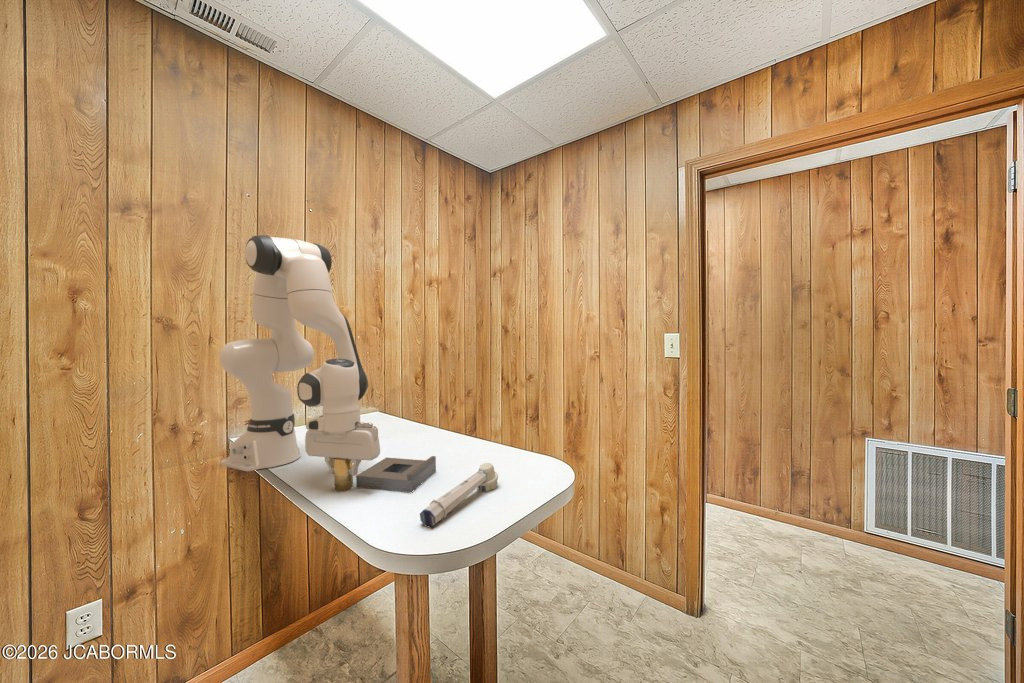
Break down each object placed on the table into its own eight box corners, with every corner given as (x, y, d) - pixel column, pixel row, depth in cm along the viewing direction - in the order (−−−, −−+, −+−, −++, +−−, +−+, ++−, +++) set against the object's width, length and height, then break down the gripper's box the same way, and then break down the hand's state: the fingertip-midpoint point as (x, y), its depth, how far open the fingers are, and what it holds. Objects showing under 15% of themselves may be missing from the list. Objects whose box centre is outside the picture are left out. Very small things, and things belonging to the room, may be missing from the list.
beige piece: (416, 506, 77) (484, 455, 98) (420, 535, 78) (486, 478, 99) (434, 512, 75) (500, 458, 96) (438, 542, 76) (502, 482, 97)
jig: (356, 486, 96) (355, 470, 96) (386, 467, 110) (386, 452, 110) (411, 492, 93) (411, 475, 93) (435, 471, 106) (435, 456, 106)
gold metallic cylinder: (330, 490, 95) (329, 459, 94) (342, 483, 99) (341, 454, 99) (345, 492, 94) (344, 460, 93) (356, 484, 98) (355, 455, 98)
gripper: (384, 420, 96) (385, 472, 97) (318, 417, 101) (319, 466, 102) (369, 426, 90) (371, 482, 91) (300, 422, 95) (301, 475, 95)
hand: (343, 473), depth 96 cm, fingers closed on gold metallic cylinder, 4 cm apart
